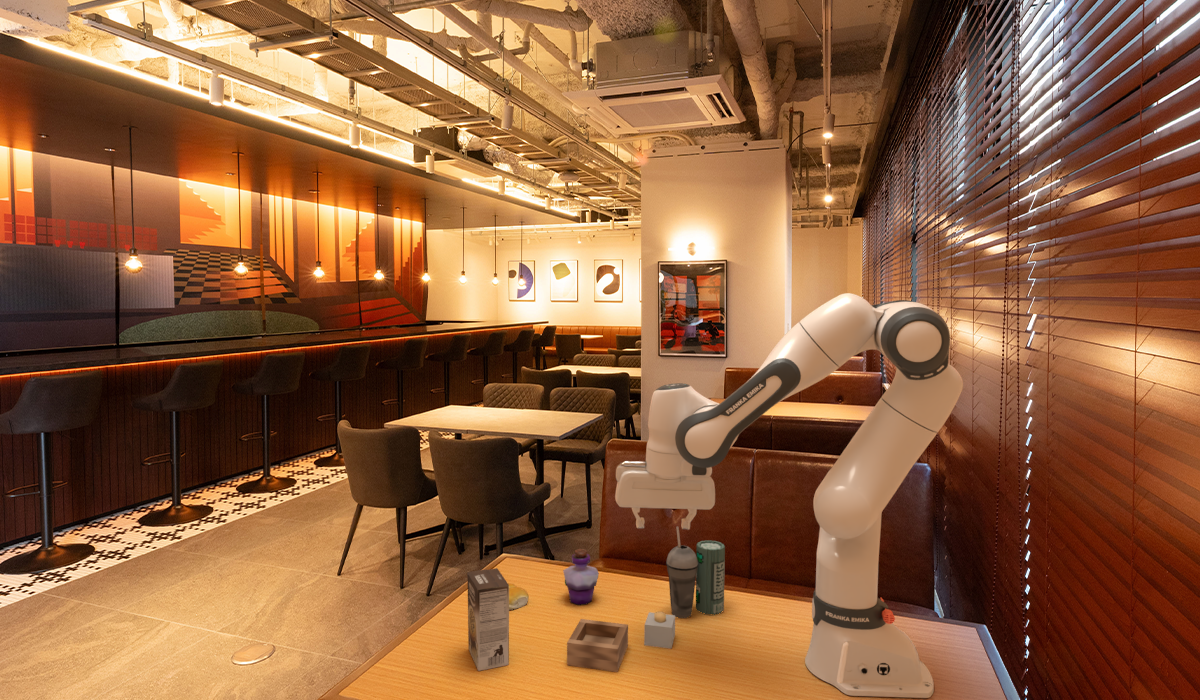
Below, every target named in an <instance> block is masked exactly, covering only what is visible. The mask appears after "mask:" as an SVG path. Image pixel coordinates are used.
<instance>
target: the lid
mask: <svg viewBox="0 0 1200 700" xmlns="http://www.w3.org/2000/svg"><path fill="white" fill-rule="evenodd" d="M643 630H644V635H643V636H644V637H643V639H644V641H643V642H644V643H643V645H644V646H646V647H647V646H648V647H654V648H655V647H656V648H663V649H672V648H673V644H674V640H675V636H676V617H675V615H672V614H667V613H666V612H664V611H655V612H650V611H649V612H648V614H647V617H646V620H645V622H644V629H643Z"/></svg>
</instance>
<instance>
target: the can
mask: <svg viewBox="0 0 1200 700" xmlns="http://www.w3.org/2000/svg"><path fill="white" fill-rule="evenodd" d="M695 551H696V552H695V554H696V557H697V561H698V569H697V574H696V579H695V609H697V610H696V611H697V612H698V611H700V612H702V613H701V614H703V613H705V614H706V615H708V614H714V615H713V616H716V615H718V614H719V613H720V614H722V613H723V612H724V609H725V562H726V560H725V559H726V558H725V557H726V556H725V555H726V546H725V544H724V543H722V542H720V541H718V540H717V541H716V540H711V539H710V540H701V541H699V542H696V550H695ZM722 611H723V612H722ZM700 612H699V613H700ZM721 612H722V613H721ZM705 614H704V615H705ZM715 614H716V615H715ZM720 614H719V615H720Z"/></svg>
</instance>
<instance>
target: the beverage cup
mask: <svg viewBox="0 0 1200 700" xmlns="http://www.w3.org/2000/svg"><path fill="white" fill-rule="evenodd" d="M675 529H676V536H677V546H675V547H673V548H672V549H671V550H670V551H669V552H668V554H667V558H666V562H665V564H666V568H667V574H668V583H669V584H668V585H669V597H670V599H669V600H670V607H671V615H675V618H677V617H678V619H687V617H688V618H690V617H692V615H691V614H693V607H694V599H695V598H694V597H695V590H696V574H697V569H698V561H697V557H696V552H695V551H694V550H693V549H692V548H691V547H689V546H687V545H681V538H680V530H679V529H680V528H679V526H676V528H675ZM689 616H690V617H689Z"/></svg>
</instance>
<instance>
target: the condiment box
mask: <svg viewBox="0 0 1200 700" xmlns="http://www.w3.org/2000/svg"><path fill="white" fill-rule="evenodd" d="M628 646H629V624H628V623H627V624H626V623H620V622H619V623H618V622H612V621H611V622H610V621H609V622H608V621H602V620H601V621H600V620H594V619H593V620H592V619H585V618H581V619H580V620H579V622H578V623H577V624H576V626H575V628H574V630H573V632H572V633H571V634H570V637H569V639H568V640H567V643H566V665H567V666H572V667H579V668H586V669H593V670H599V671H607V672H614V673H618V671H619V669H620V667H621V664H622V662H623V659H624V657H625V654H626V652H627V650H628Z"/></svg>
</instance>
